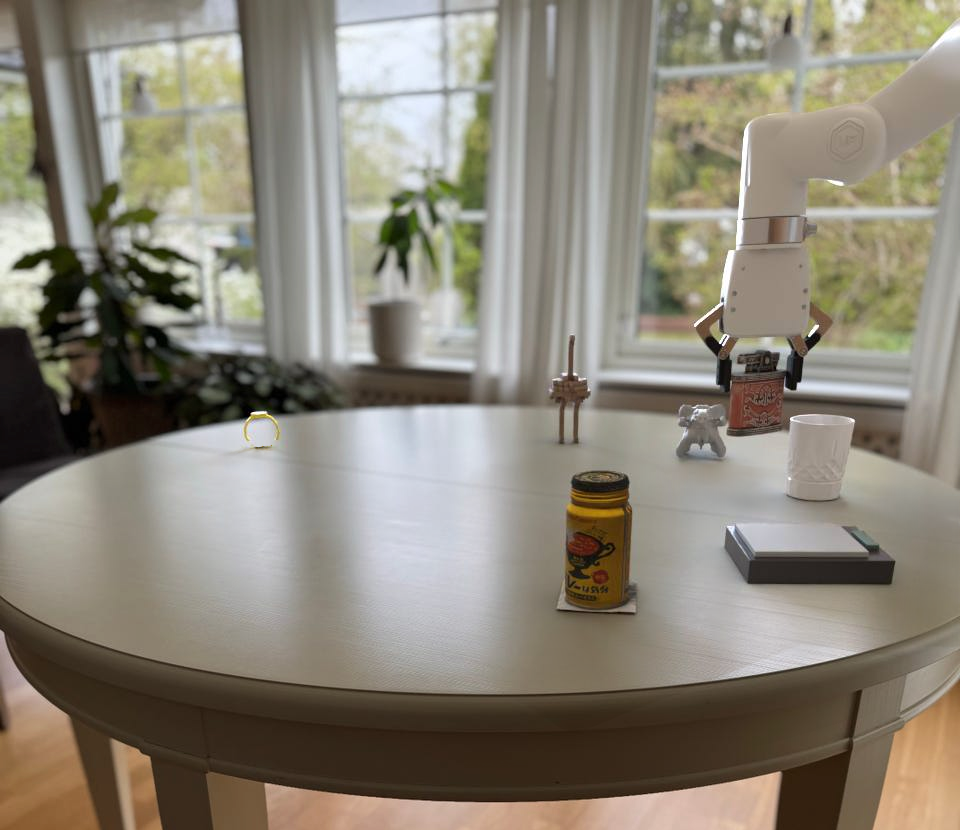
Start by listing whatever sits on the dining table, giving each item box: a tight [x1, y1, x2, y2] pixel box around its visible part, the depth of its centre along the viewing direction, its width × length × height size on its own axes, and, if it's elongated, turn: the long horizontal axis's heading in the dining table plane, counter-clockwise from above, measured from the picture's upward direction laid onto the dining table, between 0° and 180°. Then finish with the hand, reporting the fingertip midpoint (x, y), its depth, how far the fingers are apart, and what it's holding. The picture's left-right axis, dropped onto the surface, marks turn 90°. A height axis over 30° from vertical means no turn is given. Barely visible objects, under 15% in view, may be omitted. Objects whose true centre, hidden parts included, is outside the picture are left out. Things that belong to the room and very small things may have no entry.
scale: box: [724, 522, 896, 585], centre depth 92 cm, size 14×12×3 cm
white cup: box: [785, 413, 856, 502], centre depth 117 cm, size 8×8×10 cm
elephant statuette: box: [675, 403, 728, 459], centre depth 143 cm, size 9×12×8 cm
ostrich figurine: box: [548, 333, 592, 444], centre depth 156 cm, size 17×7×18 cm, turn 1°
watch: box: [243, 411, 281, 442], centre depth 154 cm, size 6×3×6 cm, turn 103°
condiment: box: [556, 470, 638, 613], centre depth 83 cm, size 7×8×12 cm
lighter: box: [726, 349, 787, 438], centre depth 111 cm, size 8×3×10 cm, turn 116°
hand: (757, 389), depth 111 cm, fingers closed on lighter, 7 cm apart
